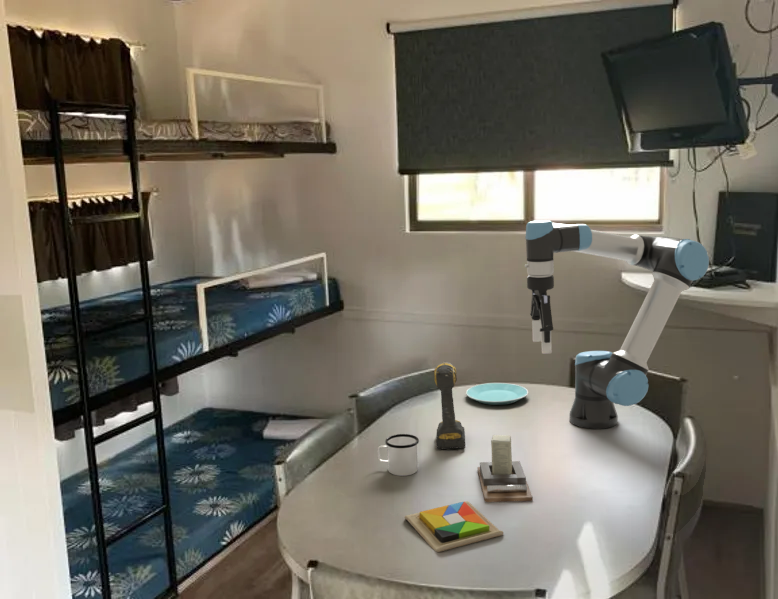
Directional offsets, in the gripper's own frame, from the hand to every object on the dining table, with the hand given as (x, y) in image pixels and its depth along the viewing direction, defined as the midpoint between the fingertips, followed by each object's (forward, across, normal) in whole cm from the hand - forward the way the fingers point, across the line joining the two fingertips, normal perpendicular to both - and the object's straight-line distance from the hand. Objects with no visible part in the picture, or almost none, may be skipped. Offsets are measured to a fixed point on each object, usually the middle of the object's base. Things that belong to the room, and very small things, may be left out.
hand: (541, 347), depth 224 cm
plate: (+31, -48, -7) cm, 58 cm away
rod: (+30, +32, -16) cm, 47 cm away
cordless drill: (+30, -9, -27) cm, 42 cm away
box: (+29, +22, -16) cm, 40 cm away
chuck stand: (+30, +26, -16) cm, 43 cm away
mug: (+30, +13, -44) cm, 54 cm away
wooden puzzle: (+30, +48, -31) cm, 65 cm away
